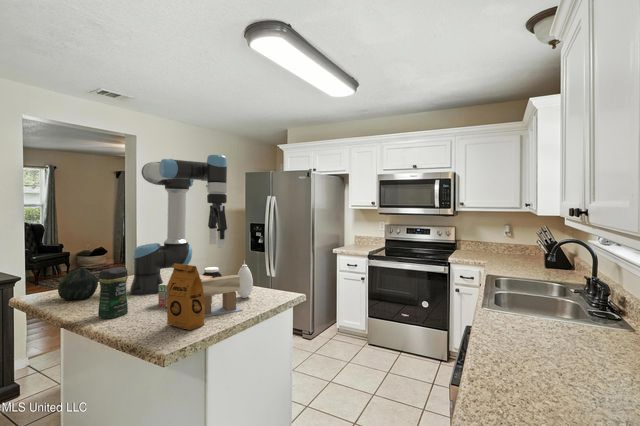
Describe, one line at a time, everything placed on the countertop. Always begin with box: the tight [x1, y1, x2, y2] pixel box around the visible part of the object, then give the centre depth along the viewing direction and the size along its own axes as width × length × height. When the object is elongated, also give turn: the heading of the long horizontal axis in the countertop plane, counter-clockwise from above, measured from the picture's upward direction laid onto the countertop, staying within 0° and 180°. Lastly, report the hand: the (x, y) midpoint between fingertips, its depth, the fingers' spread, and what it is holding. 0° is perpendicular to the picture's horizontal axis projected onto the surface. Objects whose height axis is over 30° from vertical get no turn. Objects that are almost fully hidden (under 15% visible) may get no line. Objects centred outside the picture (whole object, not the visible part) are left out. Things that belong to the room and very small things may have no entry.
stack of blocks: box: [157, 274, 213, 307], centre depth 144 cm, size 21×6×12 cm, turn 88°
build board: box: [204, 291, 243, 318], centre depth 136 cm, size 10×18×7 cm, turn 121°
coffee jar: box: [97, 266, 129, 320], centre depth 129 cm, size 10×8×19 cm
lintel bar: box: [201, 274, 240, 297], centre depth 135 cm, size 4×18×6 cm, turn 129°
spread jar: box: [201, 266, 223, 278], centre depth 164 cm, size 12×11×12 cm
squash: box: [57, 267, 99, 301], centre depth 152 cm, size 14×15×15 cm
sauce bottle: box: [236, 259, 254, 299], centre depth 155 cm, size 8×8×18 cm
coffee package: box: [166, 264, 205, 331], centre depth 119 cm, size 10×12×22 cm
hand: (217, 245), depth 135 cm, fingers open, 13 cm apart
